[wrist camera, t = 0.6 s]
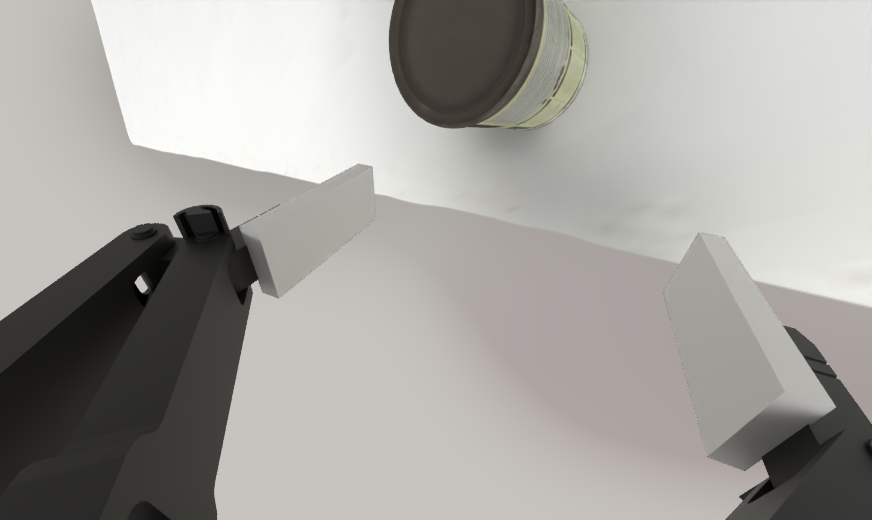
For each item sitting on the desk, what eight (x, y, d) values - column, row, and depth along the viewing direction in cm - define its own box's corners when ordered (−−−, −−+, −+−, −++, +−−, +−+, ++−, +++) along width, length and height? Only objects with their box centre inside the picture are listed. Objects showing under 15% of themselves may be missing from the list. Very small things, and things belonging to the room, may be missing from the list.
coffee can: (487, 141, 34) (404, 143, 23) (473, 32, 32) (373, -23, 21) (593, 116, 28) (548, 103, 17) (586, -20, 26) (529, -136, 15)
